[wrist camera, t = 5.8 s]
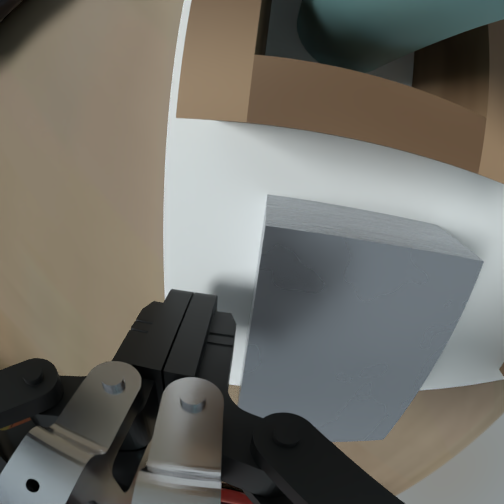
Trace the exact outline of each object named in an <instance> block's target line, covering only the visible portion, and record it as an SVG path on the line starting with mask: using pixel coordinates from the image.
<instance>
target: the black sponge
mask: <svg viewBox="0 0 504 504" xmlns="http://www.w3.org/2000/svg"><path fill="white" fill-rule="evenodd" d="M21 1H22V0H0V22H1V21H2V20H3V19H4V17H5V16H6V15H7V14H9V13H10V12H11V11H12V10H13V9H14V8H15V7H17V6H18V5H19V3H20V2H21Z"/></svg>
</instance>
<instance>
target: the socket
mask: <svg viewBox="0 0 504 504" xmlns="http://www.w3.org/2000/svg"><path fill="white" fill-rule="evenodd" d="M271 4H272V0H192V1H191V6H190V12H189V17H188V23H187V30H186V36H185V43H184V50H183V57H182V64H181V73H180V81H179V90H178V100H177V110H176V118H185V119H202V120H215V121H228V122H240V123H250V124H260V125H268V126H276V127H284V128H291V129H298V130H305V131H311V132H317V133H323V134H328V135H334V136H339V137H344V138H349V139H354V140H359V141H363V142H368V143H372V144H376V145H381V146H385V147H389V148H393V149H397V150H401V151H404V152H408V153H412V154H415V155H419V156H422V157H426V158H429V159H432V160H436V161H439V162H442V163H446V164H449V165H452V166H455V167H458V168H461V169H464V170H467V171H470V172H473V173H475V174H478V175H481V176H484V177H486V178H489V179H492V180H494V181H497V182H499V183H502V184H504V19H503V20H499V21H496V22H493V23H489V24H486V25H483V26H480V27H477V28H474V29H471V30H468V31H465V32H463V33H460V34H457V35H454V36H452V37H449V38H446V39H444V40H441V41H439V42H436V43H434V44H431V45H429V46H426V47H424V48H421V49H419V50H417V51H414V65H413V79H412V87H410V86H407V85H404V84H401V83H398V82H394V81H391V80H388V79H384V78H381V77H377V76H374V75H370V74H366V73H362V72H358V71H354V70H350V69H345V68H341V67H336V66H331V65H326V64H321V63H315V62H309V61H303V60H297V59H290V58H282V57H274V56H265V53H266V45H267V36H268V28H269V20H270V12H271Z"/></svg>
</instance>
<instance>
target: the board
mask: <svg viewBox="0 0 504 504" xmlns="http://www.w3.org/2000/svg"><path fill="white" fill-rule="evenodd" d="M191 1H192V0H184V4H183V9H182V15H181V20H180V26H179V32H178V39H177V46H176V53H175V60H174V68H173V76H172V85H171V94H170V104H169V115H168V127H167V141H166V158H165V180H164V226H163V241H164V288H165V299H166V297H167V295H168V293H169V292H170V290H171V289H177V290H183V291H190V292H194V293H195V292H197V293H204V294H211V295H217V296H218V302H217V311H219V312H227V313H232V315H233V318H234V320H235V322H236V324H237V325H236V333H235V342H234V351H233V359H232V366H231V373H230V380H229V384H231V385H238V386H240V380H241V373H242V366H243V359H244V353H245V346H246V339H247V332H248V326H249V319H250V312H251V305H252V298H253V291H254V284H255V277H256V270H257V263H258V256H259V249H260V242H261V235H262V228H263V221H264V214H265V207H266V199H267V194H269V195H276V196H283V197H290V198H297V199H303V200H310V201H316V202H322V203H328V204H334V205H340V206H346V207H351V208H357V209H362V210H368V211H373V212H378V213H383V214H388V215H393V216H398V217H403V218H408V219H413V220H417V221H422V222H427V223H431V224H436V225H438V226H439V227H441V228H442V229H443V230H445V231H446V232H447V233H449V234H450V235H451V236H453V237H454V238H455V239H457V240H458V241H459V242H460V243H462V244H463V245H464V246H466V247H467V248H468V249H469V250H471V251H472V252H473V253H474V254H476V255H477V256H478V257H479V258H480V259H482V260H483V261H484V263H483V265H482V268H481V271H480V273H479V276H478V278H477V281H476V283H475V286H474V288H473V290H472V293H471V295H470V297H469V300H468V302H467V304H466V306H465V308H464V311H463V313H462V315H461V317H460V319H459V321H458V323H457V325H456V327H455V329H454V331H453V333H452V335H451V337H450V339H449V341H448V342H447V344H446V346H445V348H444V350H443V352H442V353H441V355H440V357H439V359H438V360H437V362H436V364H435V366H434V367H433V369H432V371H431V372H430V374H429V375H428V377H427V379H426V380H425V382H424V383H423V385H422V387H421V388H420V390H431V389H441V388H450V387H459V386H466V385H473V384H480V383H486V382H492V381H497V380H503V379H504V376H503V375H502V373H501V372H500V370H499V369H500V367H501V366H502V364H503V362H504V184H502V183H499V182H497V181H494V180H492V179H489V178H486V177H484V176H481V175H478V174H475V173H473V172H470V171H467V170H464V169H461V168H458V167H455V166H452V165H449V164H446V163H442V162H439V161H436V160H432V159H429V158H426V157H422V156H419V155H415V154H412V153H408V152H404V151H401V150H397V149H393V148H389V147H385V146H381V145H376V144H372V143H368V142H363V141H359V140H354V139H349V138H344V137H339V136H334V135H328V134H323V133H317V132H311V131H305V130H298V129H291V128H284V127H276V126H268V125H260V124H250V123H240V122H228V121H215V120H202V119H185V118H176V110H177V100H178V90H179V81H180V73H181V64H182V57H183V50H184V43H185V36H186V30H187V23H188V17H189V12H190V6H191ZM301 1H302V0H272V4H271V12H270V20H269V28H268V36H267V45H266V53H265V56H274V57H282V58H290V59H297V60H303V61H309V62H315V63H319V62H318V61H317V60H315V59H314V58H313V57H312V56H311V55H310V54H309V53H308V52H307V50H306V49H305V48H304V46H303V44H302V43H301V41H300V38H299V35H298V32H297V18H298V13H299V9H300V5H301ZM413 65H414V52H412V53H410V54H407V55H405V56H403V57H401V58H398V59H396V60H394V61H392V62H390V63H387V64H385V65H383V66H381V67H379V68H377V69H375V70H373V71H370V72H367V73H366V74H370V75H374V76H377V77H381V78H384V79H388V80H391V81H394V82H398V83H401V84H404V85H407V86H410V87H412V79H413Z"/></svg>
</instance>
